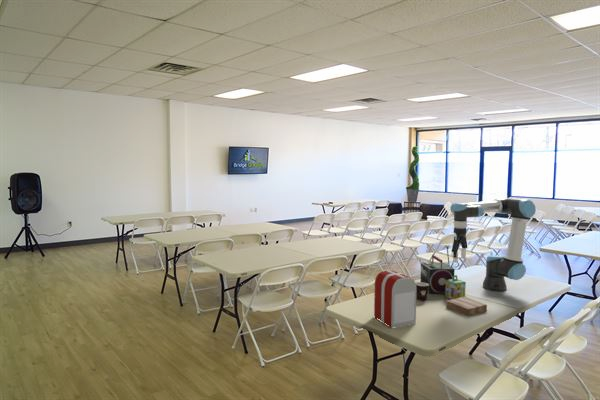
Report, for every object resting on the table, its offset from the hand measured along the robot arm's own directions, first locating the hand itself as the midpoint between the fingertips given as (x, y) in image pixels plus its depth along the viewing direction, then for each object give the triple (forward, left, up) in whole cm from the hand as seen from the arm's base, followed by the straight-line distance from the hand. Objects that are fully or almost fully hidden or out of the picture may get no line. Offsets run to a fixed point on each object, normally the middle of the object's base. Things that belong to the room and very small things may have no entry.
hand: (459, 260), depth 251 cm
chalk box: (-2, -4, -27) cm, 27 cm away
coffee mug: (+20, -14, -27) cm, 36 cm away
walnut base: (+8, +13, -26) cm, 30 cm away
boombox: (-5, -22, -27) cm, 35 cm away
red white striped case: (+58, +6, -27) cm, 64 cm away
